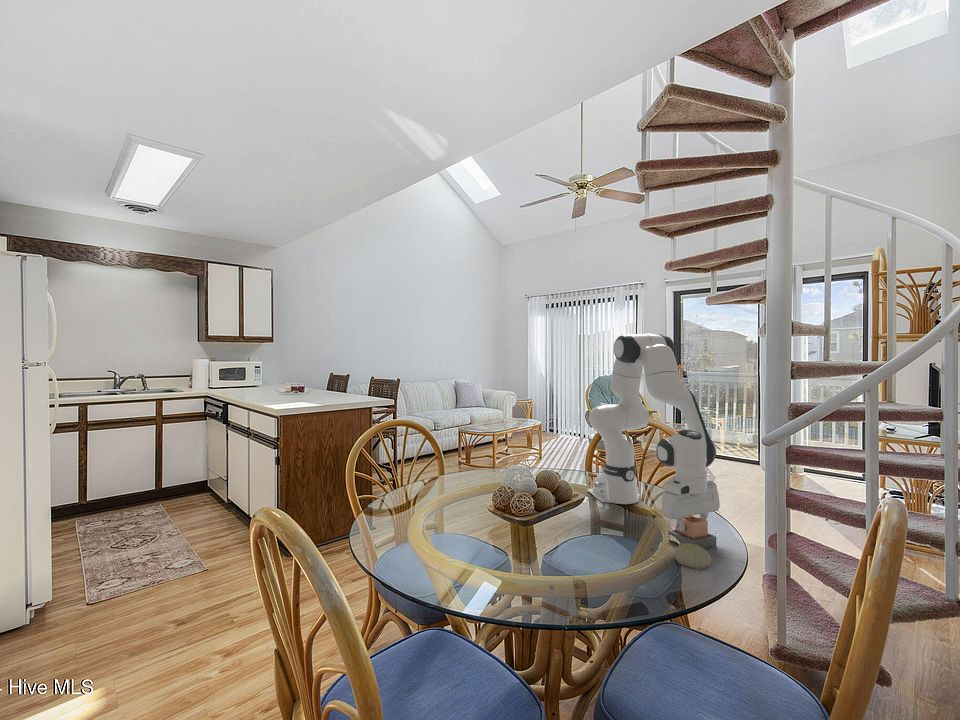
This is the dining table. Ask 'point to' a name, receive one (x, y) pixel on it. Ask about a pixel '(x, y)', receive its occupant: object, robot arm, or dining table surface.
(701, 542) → the charcoal crate
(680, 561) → the sea urchin shell
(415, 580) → the dining table surface
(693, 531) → the terracotta crate
